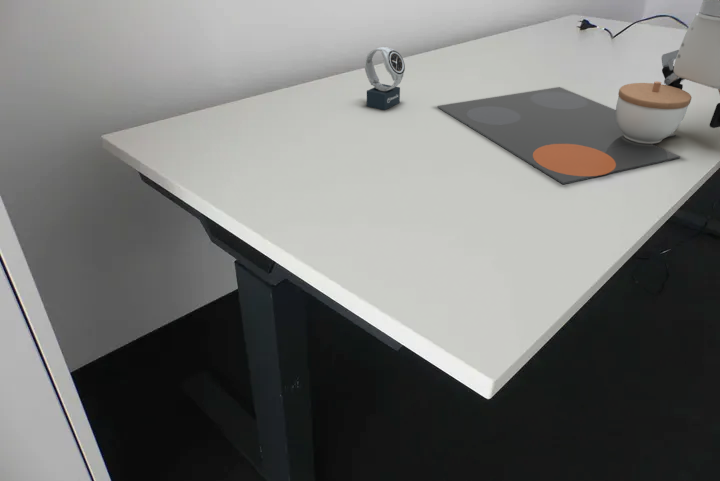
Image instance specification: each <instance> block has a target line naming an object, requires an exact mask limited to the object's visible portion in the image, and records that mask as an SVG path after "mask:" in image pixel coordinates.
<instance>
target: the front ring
mask: <svg viewBox="0 0 720 481" xmlns="http://www.w3.org/2000/svg"><path fill="white" fill-rule="evenodd" d="M533 158H534V160H535V161H536V162H537V163H538V164H540V165H541V166H543V167H545V168H547V169H549V170H552V171H555V172H558V173H562V174H567V175H574V176H598V177H600V176H599V175H603V176H605V175H604V174H607V173H609V172H611V171H613V170H614V169H615V167H616V163H615V161H614V159H613V158H612V157H610V156H609V155H608V154H606V153H604V152H602V151H599V150H597V149H594V148H590V147H586V146H582V145H575V144H551V145H546V146H542V147H540V148H538V149H536V150H535V151H534V153H533ZM607 175H608V174H607Z"/></svg>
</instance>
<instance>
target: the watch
mask: <svg viewBox="0 0 720 481" xmlns="http://www.w3.org/2000/svg"><path fill="white" fill-rule="evenodd" d="M377 52H381V55H382V57H383V65H384V68H385V70H386V72H387V73H388V74H389V75H390V76H391V79H392V81H393V83H392V84H391V85H390V84H385V83H380V79H379V77H378V75H377V72H376V69H375V65H374V64H373V58H374V55H376V53H377ZM405 70H406V63H405V61H404V58H403V57H402V55H401V53H400V52H398V51H397V50H395V49H393V48H391V47H388V46H380V47H378V48H377V47H376V48H375V49H372V50H371V51H369V52H368V53H367V55H366V57H365V60H364V71H365V75H366V76H367V79H368V80H367V81H368V82H369V83H370V85H371V86H373V87H372V88H370V89H368V90H366V107H369V108H373V109H377V110H382V111H386V110H388V109H390V108H393V107H394V106H396V105H398V104H400V103H401V102H400V101H401V86H400V87H399V85H400V84H401V82H402V80H403V77H404V75H405V74H404V73H405Z"/></svg>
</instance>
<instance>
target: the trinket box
mask: <svg viewBox="0 0 720 481" xmlns="http://www.w3.org/2000/svg"><path fill="white" fill-rule="evenodd" d="M617 95H618V97H617V101H616V105H615V110H616V122H617V125H618V127H619V128H620V130H621V131H622V132H623V136H624V137H625V138H627V139H629V140H631V141H634V142H638V143H645V144H653V145H655V144H658V143H661V142H662V140H664V139H667V138H666V137H668V136H669V135H671V134H672V133H673V134H674V133H675V131H676V130H677V129H678V128H679V127H680V125H681V124H682V122H683V121H684V118H685V116H686V114H687V111H688V108H689V106H690V104H691V102H692V98H693V97H692V95H691V94H690V92H688V91H686V90H683V89H682V90H681V89H679V88H676V87H672V86H667V85H665V84H662V82H661V81H659V80H656V81H654V82H634V83H633V82H632V83H627V84H624V85H622V86H620V88H619V90H618V94H617Z"/></svg>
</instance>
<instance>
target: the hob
mask: <svg viewBox="0 0 720 481" xmlns="http://www.w3.org/2000/svg"><path fill="white" fill-rule="evenodd" d="M437 108H438V109H440V110H441V111H443V112H444V113H445V114H447V115H449V116H450V117H453V118H454V119H456V120H457V121H459V122H460V123H462V124H464V125H465V126H466V127H469V128H471V129H472V130H474V131H475V132H477V133H479V134H480V135H482V136H483V137H485V138H487V139H488V140H490V141H492V142H493V143H495V144H496V145H498V146H500V147H501V148H503V149H505V150H506V151H507V152H509V153H511V154H513V155H514V156H515V157H518V158H519V159H521V160H523V161H524V162H526V163H528V164H529V165H530V166H532V167H534V168H535V169H537V170H539V171H541V172H542V173H544V174H546V175H547V176H549V177H550V178H551V179H553V180H555V181H556V182H558V183H560V184H561V185H568V184H571V183H576V182H580V181H584V180H589V179H594V178H598V177H604V176H607V175H611V174H615V173H621V172H624V171H630V170H634V169H638V168H642V167H647V166H652V165H656V164H660V163H665V162H669V161H673V160H677V159H680V158H681V156H680V155H678V154H675V153H673V152H671V151H669V150H666V149H664V148H662V147H659V146H657V145H655V144H645V143H638V142H634V141H631V140H629V139H627V138H625V137H624V136H623V132H622V131H621V130H620V128H619V127H618V125H617V122H616V109H615V108H612V107H610V106H607V105H604V104H601V103H600V102H597V101H594V100H592V99H589V98H588V97H584V96H582V95H580V94H577V93H575V92H573V91H570V90H568V89H565V88H562V87H560V86H559V87H552V88H545V89H539V90H532V91H525V92H519V93H513V94H505V95H500V96H494V97H493V96H492V97H487V98H480V99H475V100H473V99H472V100H468V101H461V102H454V103H448V104H442V105H437ZM674 137H676V134H675V133H674V132H673V133H672V134H671V135H669V136H668V137H666V138H665V139H668V138H674ZM551 144H575V145H582V146H586V147H590V148H594V149H597V150H599V151H602V152H604V153H606V154H608V155H609V156H610V157H612V158H613V159H614V161H615V163H616V167H615V169H614V170H613V171H611V172H609V173H607V174H604V175H599V176H574V175H567V174H562V173H558V172H555V171H552V170H549V169H547V168H545V167H543V166H541V165H540V164H538V163H537V162H536V161H535V160H534V158H533V153H534V151H535V150H536V149H538V148H540V147H542V146H546V145H551Z"/></svg>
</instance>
